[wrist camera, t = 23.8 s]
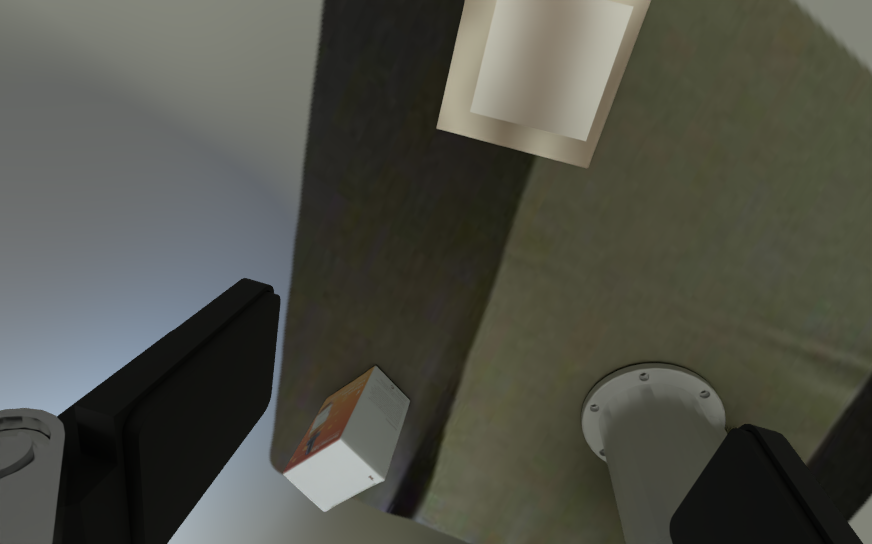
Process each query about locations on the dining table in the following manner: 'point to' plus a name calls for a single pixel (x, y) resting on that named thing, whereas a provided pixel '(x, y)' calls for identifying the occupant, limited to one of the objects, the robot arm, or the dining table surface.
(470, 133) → the board
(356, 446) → the small box
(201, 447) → the robot arm
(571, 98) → the cream block
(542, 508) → the dining table surface
